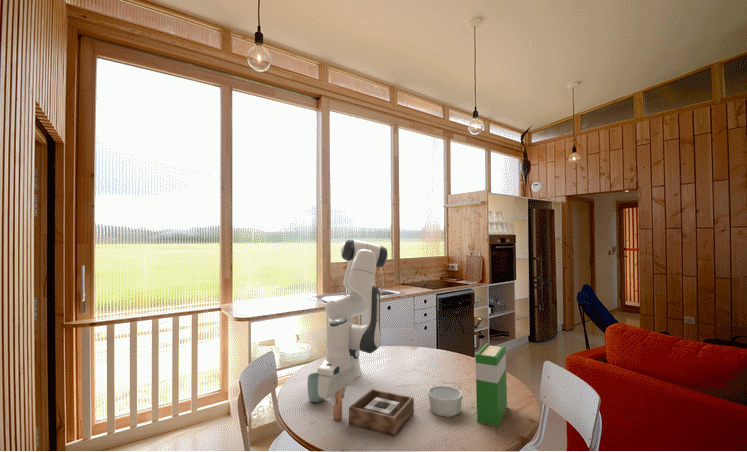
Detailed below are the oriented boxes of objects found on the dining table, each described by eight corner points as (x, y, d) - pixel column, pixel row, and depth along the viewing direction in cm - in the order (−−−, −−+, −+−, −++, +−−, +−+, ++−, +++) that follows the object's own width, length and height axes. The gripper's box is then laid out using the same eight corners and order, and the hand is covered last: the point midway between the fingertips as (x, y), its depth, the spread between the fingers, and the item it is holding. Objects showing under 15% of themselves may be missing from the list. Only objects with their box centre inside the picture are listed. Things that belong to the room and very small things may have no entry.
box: (348, 424, 121) (348, 407, 122) (371, 404, 137) (371, 388, 138) (395, 437, 113) (394, 418, 114) (413, 413, 129) (413, 397, 130)
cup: (329, 397, 143) (329, 373, 144) (320, 405, 136) (321, 380, 137) (313, 395, 146) (313, 371, 147) (303, 403, 139) (304, 377, 139)
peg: (331, 419, 125) (331, 385, 126) (336, 415, 128) (336, 382, 129) (338, 421, 124) (339, 387, 125) (343, 417, 127) (343, 384, 127)
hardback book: (487, 403, 138) (486, 342, 140) (507, 407, 134) (505, 345, 136) (477, 422, 123) (475, 354, 125) (498, 427, 119) (496, 357, 121)
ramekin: (456, 422, 123) (455, 402, 123) (422, 413, 130) (422, 394, 130) (467, 408, 134) (466, 389, 135) (435, 400, 141) (435, 383, 142)
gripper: (345, 354, 138) (345, 389, 137) (314, 370, 120) (314, 410, 119) (358, 356, 135) (358, 392, 134) (329, 373, 117) (329, 414, 116)
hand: (337, 401), depth 126 cm, fingers closed on peg, 3 cm apart
